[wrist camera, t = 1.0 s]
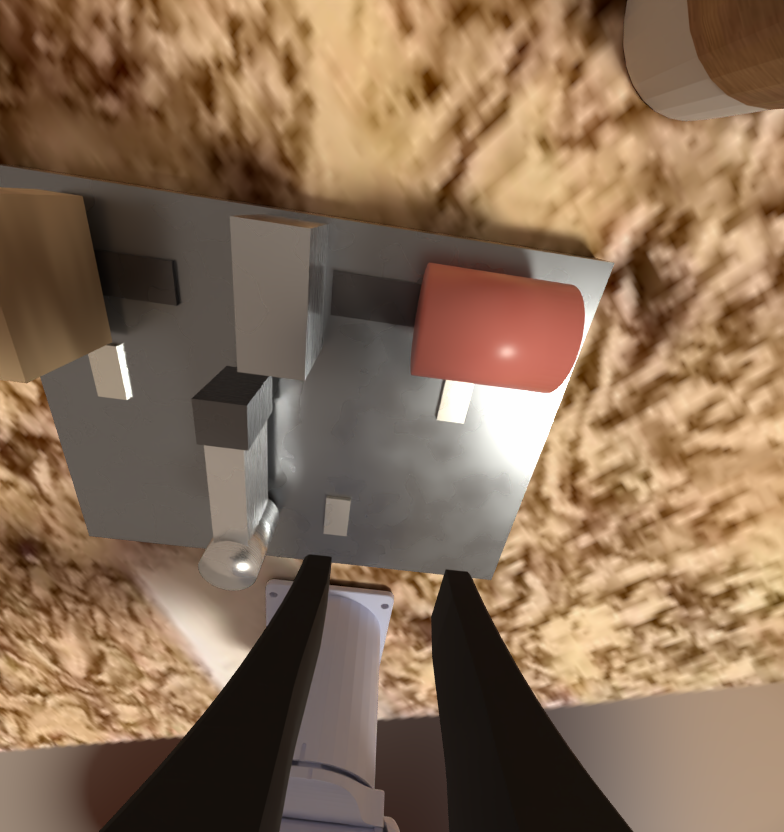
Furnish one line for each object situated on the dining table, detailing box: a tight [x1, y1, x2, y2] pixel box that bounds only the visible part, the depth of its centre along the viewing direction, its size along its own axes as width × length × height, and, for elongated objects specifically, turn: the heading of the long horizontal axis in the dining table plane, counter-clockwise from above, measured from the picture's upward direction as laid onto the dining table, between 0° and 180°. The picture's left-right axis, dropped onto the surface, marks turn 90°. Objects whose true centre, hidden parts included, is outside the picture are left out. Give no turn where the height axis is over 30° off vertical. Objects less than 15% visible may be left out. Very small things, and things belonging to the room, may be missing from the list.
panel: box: [0, 164, 614, 580], centre depth 17 cm, size 17×22×5 cm
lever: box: [192, 366, 279, 591], centre depth 16 cm, size 9×2×4 cm, turn 172°
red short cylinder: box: [410, 263, 585, 394], centre depth 13 cm, size 4×5×4 cm
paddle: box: [0, 187, 112, 383], centre depth 12 cm, size 5×1×4 cm, turn 172°
